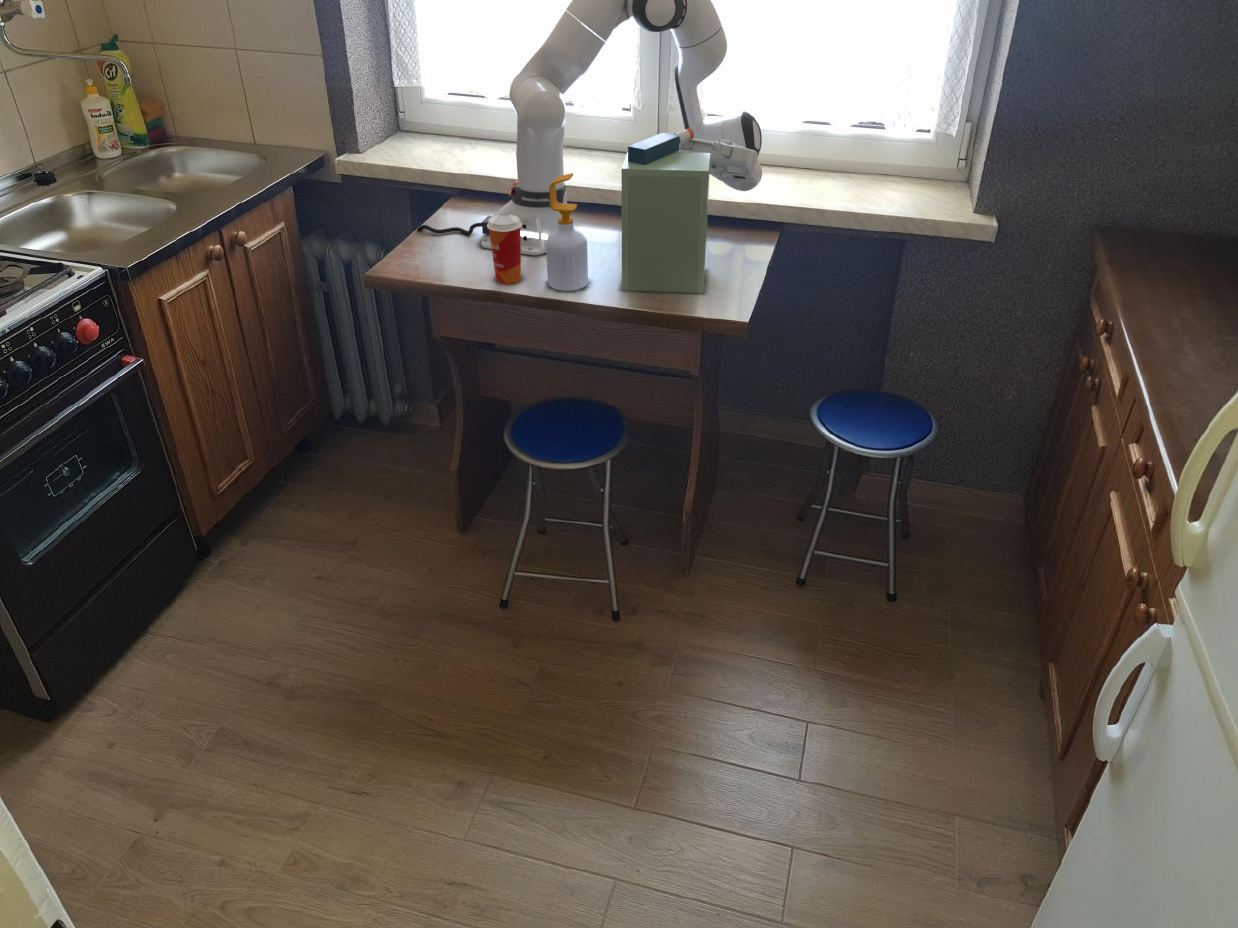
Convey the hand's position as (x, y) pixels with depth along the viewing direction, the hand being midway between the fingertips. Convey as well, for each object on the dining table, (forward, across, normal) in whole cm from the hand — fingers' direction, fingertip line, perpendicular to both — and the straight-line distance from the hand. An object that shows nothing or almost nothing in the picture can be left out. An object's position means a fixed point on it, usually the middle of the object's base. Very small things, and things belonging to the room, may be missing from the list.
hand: (697, 142), depth 217 cm
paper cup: (+21, -25, +42) cm, 53 cm away
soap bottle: (+16, -12, +39) cm, 44 cm away
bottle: (+12, 0, +6) cm, 14 cm away
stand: (+3, +4, +32) cm, 32 cm away
